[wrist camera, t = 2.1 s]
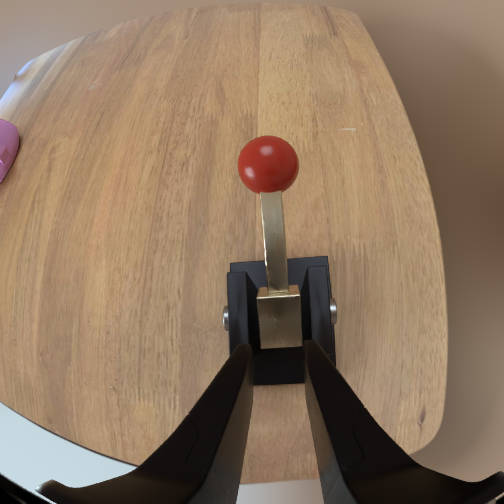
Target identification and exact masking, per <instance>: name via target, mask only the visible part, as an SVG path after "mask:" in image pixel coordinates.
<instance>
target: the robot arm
mask: <svg viewBox="0 0 504 504" xmlns="http://www.w3.org/2000/svg"><path fill="white" fill-rule="evenodd" d="M303 363H304V379H305V395H306V403H307V409H308V414H309V419H310V425H311V430H312V436H313V441H314V447H315V452H316V458H317V464H318V469H319V475H320V481H321V486H322V493H323V499H324V504H504V495H503V496H502V497H500V498H498V499H497V500H496V499H495V497H497V496H499V495H500V494H502V493H503V492H504V472H502V471H499V472H497V473H495V474H493V475H492V476H490V477H488V478H486V479H484V480H482V481H479V482H466V481H462V480H459V479H456V478H453V477H450V476H447V475H444V474H441V473H438V472H436V471H433V470H430V469H428V468H425V467H423V466H421V465H420V464H418V463H417V462H415V461H414V460H413V459H412V458H411V457H409V455H408V454H407V453H406V452H405V451H404V450H403V449H402V448H401V447H400V446H398V445H397V444H396V443H395V442H394V441H393V439H392V438H391V437H390V436H389V435H388V434H387V433H386V432H385V431H384V430H383V429H382V428H381V427H380V426H379V425H378V423H377V422H376V421H375V420H374V418H373V417H372V416H371V414H370V413H369V412H368V410H367V409H366V408H365V407H364V405H363V404H362V402H361V401H360V400H359V398H358V397H357V396H356V394H355V393H354V391H353V390H352V389H351V387H350V386H349V385H348V383H347V382H346V381H345V379H344V378H343V377H342V375H341V374H340V372H339V371H338V370H337V368H336V367H335V366H334V364H333V363H332V362H331V360H330V359H329V357H328V356H327V355H326V353H325V352H324V351H323V349H322V348H321V347H320V345H319V344H318V342H317V341H316V340H305V341H304V342H303ZM253 369H254V362H253V355H252V349H251V345H250V344H239V345H237V347H236V348H235V350H234V351H233V353H232V354H231V355H230V357H229V358H228V360H227V361H226V362H225V364H224V365H223V367H222V368H221V369H220V371H219V372H218V374H217V375H216V376H215V378H214V379H213V381H212V382H211V383H210V385H209V386H208V388H207V389H206V390H205V392H204V393H203V394H202V396H201V397H200V398H199V400H198V401H197V403H196V404H195V405H194V407H193V408H192V409H191V411H190V412H189V414H188V415H187V416H186V417H185V418H184V420H183V421H182V422H181V424H180V425H179V426H178V427H177V429H176V430H175V431H174V432H173V433H172V434H171V435H170V437H169V438H168V439H167V440H166V441H165V442H164V443H163V444H162V445H161V446H160V447H159V448H158V449H157V450H156V451H155V452H154V453H153V454H152V455H151V456H149V457H148V458H147V459H146V460H145V461H144V462H143V463H142V464H141V465H140V466H139V467H137V468H136V469H135V470H133V471H131V472H129V473H127V474H125V475H122V476H119V477H116V478H113V479H110V480H106V481H103V482H100V483H96V484H93V485H90V486H86V487H81V488H72V487H67V486H65V485H63V484H61V483H59V482H57V481H55V480H50V481H47V482H45V483H42V484H41V485H39V486H38V487H37V488H36V489H35V490H36V491H37V492H38V493H39V494H41V495H43V496H44V497H46V498H48V499H49V500H51V501H53V502H55V503H57V504H236V500H237V495H238V489H239V484H240V478H241V472H242V466H243V460H244V454H245V448H246V442H247V436H248V430H249V424H250V418H251V411H252V404H253ZM0 504H51V503H50V502H48V501H46V500H44V499H42V498H41V497H39V496H37V495H35V494H34V493H32V492H30V491H28V490H27V489H25V488H23V487H22V486H20V485H18V484H17V483H15V482H14V481H12V480H10V479H9V478H7V477H6V476H4V475H3V474H1V473H0Z"/></svg>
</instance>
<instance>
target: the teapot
mask: <svg viewBox="0 0 504 504" xmlns="http://www.w3.org/2000/svg"><path fill="white" fill-rule="evenodd" d="M18 147H19V134H18V129H17V127H16V126H15V125H13V124H12V123H10V122H8V121H6V120H2V119H0V183H1V181H2V180H3V179H4V177H5V175H6V174H7V172H8V171H9V169H10V167H11V165H12V163H13V161H14V159H15V156H16V154H17V151H18Z"/></svg>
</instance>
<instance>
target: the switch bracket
mask: <svg viewBox="0 0 504 504" xmlns="http://www.w3.org/2000/svg"><path fill="white" fill-rule="evenodd" d="M287 266H288V281H289V285H298V287H299V291H300V294H301V311H302V337H303V342H304V341H305V340H316V341H317V342H318V344H319V345H320V347H321V348H322V349H323V351H324V352H325V353H326V355H327V356H328V357H329V359H330V360H331V362H332V363H333V364H334V366H335V367H336V352H335V334H334V324H336V322H337V306H336V302H335V299H332V294H331V284H330V273H329V264H328V256H318V257H305V258H292V259H287ZM260 287H267V276H266V263H265V261H251V262H237V263H230V272H228V273H227V296H228V306H225V307H224V310H223V323H224V328H225V330H226V331H229V357H230V355H231V354H232V353H233V351H234V350H235V348H236V347H237V345H239V344H250V345H251V349H252V355H253V362H254V369H253V385H279V384H296V383H305V379H304V363H303V346H298V347H283V348H265V349H261V348H260V338H259V326H258V315H257V303H256V297H257V294H258V291H259V288H260Z"/></svg>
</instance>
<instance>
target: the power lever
mask: <svg viewBox="0 0 504 504" xmlns="http://www.w3.org/2000/svg"><path fill="white" fill-rule="evenodd" d="M298 171H299V161H298V157H297V154H296V152H295V150H294V149H293V147H292V146H291V145H290V144H289V143H288V142H286V141H285V140H283V139H281V138H279V137H276V136H261V137H257V138H255V139H253V140H251V141H250V142H248V143H247V144H246V145H245V146H244V148H243V149H242V151H241V153H240V155H239V158H238V172H239V176H240V178H241V180H242V182H243V183H244V184H245V186H246V187H248V188H249V189H250V190H251V191H253V192H255V193H258V194H260V203H261V214H262V226H263V238H264V251H265V263H266V276H267V287H260V288H259V291H258V294H257V297H256V303H257V315H258V326H259V338H260V348H261V349H265V348H283V347H298V346H303V337H302V311H301V294H300V291H299V287H298V285H289V281H288V266H287V252H286V239H285V226H284V214H283V203H282V192H284V191H286V190H287V189H288V188H289V187H290V186H291V185H292V184H293V183H294V181H295V180H296V177H297V175H298Z"/></svg>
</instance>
